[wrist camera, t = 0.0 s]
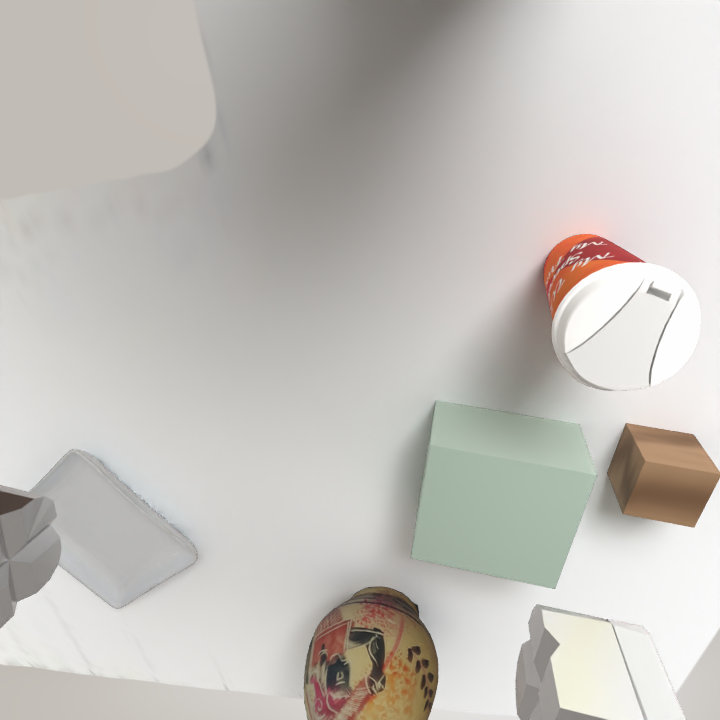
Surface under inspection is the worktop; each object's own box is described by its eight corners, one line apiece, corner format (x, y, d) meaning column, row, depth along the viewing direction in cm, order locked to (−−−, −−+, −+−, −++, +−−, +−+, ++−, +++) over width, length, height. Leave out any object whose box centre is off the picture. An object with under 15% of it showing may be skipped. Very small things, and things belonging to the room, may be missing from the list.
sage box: (436, 399, 51) (430, 444, 44) (579, 423, 49) (597, 475, 42) (418, 503, 57) (410, 558, 50) (544, 528, 55) (555, 589, 48)
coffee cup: (558, 204, 40) (601, 246, 27) (654, 241, 40) (744, 302, 27) (511, 295, 44) (529, 371, 31) (598, 329, 44) (653, 420, 31)
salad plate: (129, 594, 76) (115, 614, 73) (17, 501, 72) (-3, 518, 69) (212, 540, 67) (200, 560, 64) (90, 431, 63) (71, 447, 60)
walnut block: (625, 422, 48) (645, 461, 42) (693, 433, 47) (721, 474, 42) (607, 472, 50) (622, 513, 45) (670, 483, 49) (694, 527, 44)
